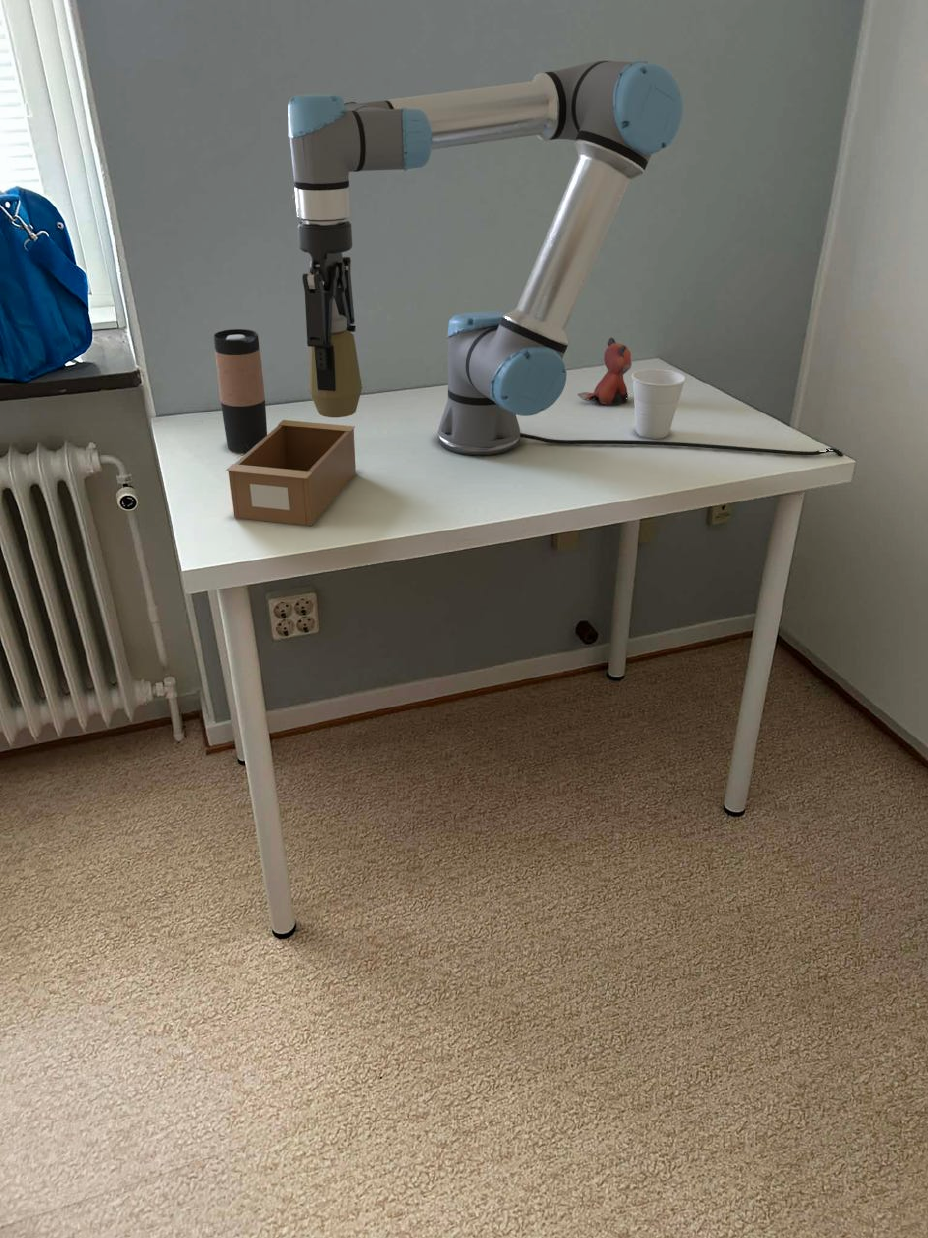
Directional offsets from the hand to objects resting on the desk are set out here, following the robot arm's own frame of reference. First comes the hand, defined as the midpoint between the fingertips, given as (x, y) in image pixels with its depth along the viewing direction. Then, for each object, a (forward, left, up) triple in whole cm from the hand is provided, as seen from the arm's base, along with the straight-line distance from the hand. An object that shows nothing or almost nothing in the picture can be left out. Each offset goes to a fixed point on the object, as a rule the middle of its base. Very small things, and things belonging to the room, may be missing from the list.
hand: (335, 382), depth 146 cm
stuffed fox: (-37, -58, -19) cm, 71 cm away
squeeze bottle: (0, 0, -5) cm, 5 cm away
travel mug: (+23, -16, -19) cm, 34 cm away
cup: (-48, -41, -19) cm, 66 cm away
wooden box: (+7, +2, -19) cm, 20 cm away
